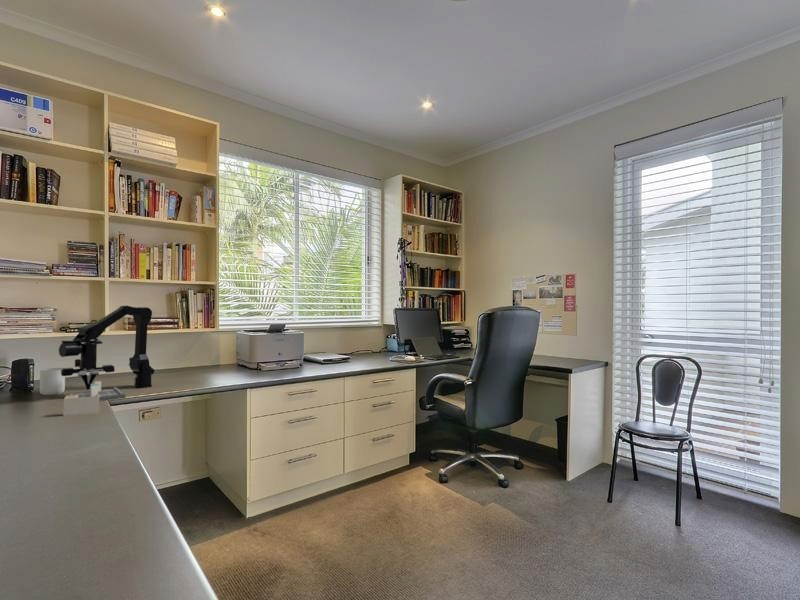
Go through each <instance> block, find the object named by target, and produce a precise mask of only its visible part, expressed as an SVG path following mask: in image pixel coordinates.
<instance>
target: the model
mask: <svg viewBox="0 0 800 600" xmlns="http://www.w3.org/2000/svg"><path fill="white" fill-rule="evenodd" d="M99 394H100V393H98V394H97V395H96V396H93V397H80V398H77V397H78V395H67V396H66V395H65V396H64V398H63V412H62V414H63V417H67V416H66V415H69V416H80V415H90V414H98V413H100V401H99V396H98V395H99ZM79 414H80V415H79Z"/></svg>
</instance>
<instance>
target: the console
mask: <svg viewBox="0 0 800 600" xmlns="http://www.w3.org/2000/svg"><path fill="white" fill-rule="evenodd" d="M98 393H100V394H99V395H98V396H99V402H102V401H101V400H103V401H108V400H107V399H111V400H115V399H116V400H117V399H125V398H126V394H125V393H124V392H123V391H122V390H121V389H119V387H113V388H105V389H101V391H99V392H98ZM67 395H78V397H77V398H80V397H93V396H91V395H90V390H86V391H79V392H72V391H69V392H68V393H65V397H66V396H67Z"/></svg>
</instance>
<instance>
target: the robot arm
mask: <svg viewBox="0 0 800 600" xmlns="http://www.w3.org/2000/svg"><path fill="white" fill-rule="evenodd" d="M127 315H128V316H132V318H133V322H134V324H135V343H134V354H133V356H132V357H129V360H128V361H129V362H128V366H129V368H130V370H131V371H132V372H133V374H134V375H135V377H134V378H133V384H134V385H133V386H134V387H135V388H136V389H141V388H149V387H150V388H151V387H153V385H152V375H154V374H155V370H156V369H154V368H153V367H152V365H150V359H149V357H148V355H147V342H148V327H149V326H148V325H149V323H150V322H151V320H152V316H153V311H152V310H151V309H150V308H149V307H145V306H144V307H141V306H140V307H134V306H129V305H120V306H119V307H118V308H117V309H115V310H113V311H112V312H110V313H108V314H106V316H104V317H102V318H101V319H100V320H97V321H95V322H93V323H89V324H87V325H85V326H82V327H80V328H79V330H78V333H77V335H76V336H75V337H74V338H73V339H72V340H62V341H61V344H60V345H59V347H58V354H59V356H60V357H62V358H65V357H75V356H76V357H78V356H80V359H79V358H78V359H75V360H74V367H75V368H73V367H61V368H62V369H61V375H62V376H65V377H67V376H72V375H74V374H77V377H81V379H82V381H83V383H84V385H85V389H86V391H90V384H93V383H94V380H95V378H96V377H97V376H99V375H100V373H99V372H105V373H115V366H114V365H113V364H102V366H99V367H97V363H98V362H97V361H98V360H97V359H98V357H97V354H98V345H102V344H103V342H102V341H101V340H100V339H99V337H100V336H101V335H102V334H103V333H104V332H105V330H106V329H107V328H108V327H110V326H112V325H114V324H115V323H116V322H117V321H120V320H121V319H122V318H124V317H126V316H127ZM87 373H88V374H87ZM88 375H89V376H88Z"/></svg>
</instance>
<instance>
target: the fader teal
mask: <svg viewBox="0 0 800 600" xmlns="http://www.w3.org/2000/svg"><path fill="white" fill-rule="evenodd" d="M89 391H90V395H91V396H96V395H97V394H98V383H94V382H93V383H92V384H90V389H89Z"/></svg>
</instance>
